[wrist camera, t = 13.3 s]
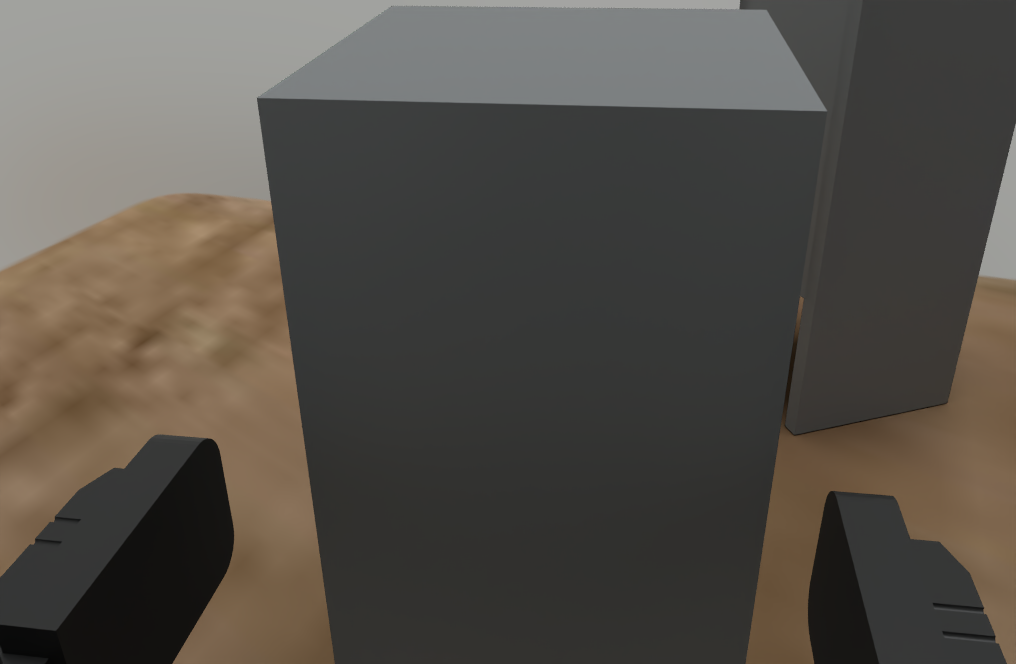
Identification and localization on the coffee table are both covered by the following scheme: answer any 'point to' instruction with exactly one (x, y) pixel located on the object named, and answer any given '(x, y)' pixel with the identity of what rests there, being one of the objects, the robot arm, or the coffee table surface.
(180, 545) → the robot arm
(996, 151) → the tall gray rectangular cabinet
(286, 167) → the gray legged block
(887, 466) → the coffee table surface
